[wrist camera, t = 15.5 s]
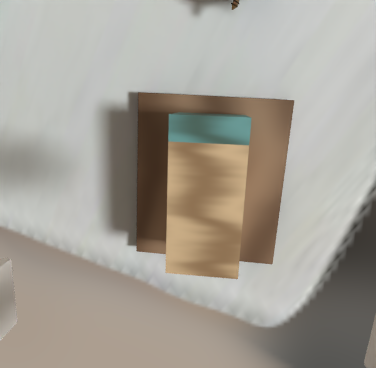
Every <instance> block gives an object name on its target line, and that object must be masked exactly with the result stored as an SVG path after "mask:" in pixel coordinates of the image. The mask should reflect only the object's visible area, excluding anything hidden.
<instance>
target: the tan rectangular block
mask: <svg viewBox="0 0 376 368" xmlns="http://www.w3.org/2000/svg"><path fill="white" fill-rule="evenodd" d="M250 130H251V117H249V116H246V115H234V114H208V113H183V112H178V113H173V114H169V133H168V183H167V232H166V273H174V274H186V275H197V276H209V277H220V278H232V279H238V270H239V259H240V247H241V235H242V224H243V212H244V200H245V189H246V177H247V165H248V154H249V142H250Z"/></svg>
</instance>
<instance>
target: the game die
mask: <svg viewBox="0 0 376 368" xmlns="http://www.w3.org/2000/svg"><path fill="white" fill-rule="evenodd" d="M231 4H232V10H233V9H235V8H236V7H238V4H239V0H233V3H231Z"/></svg>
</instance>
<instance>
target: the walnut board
mask: <svg viewBox="0 0 376 368" xmlns="http://www.w3.org/2000/svg"><path fill="white" fill-rule="evenodd" d="M293 106H294V100H277V99H257V98H238V97H218V96H199V95H179V94H160V93H140V92H138V173H137V251H139V252H150V253H160V254H166V232H167V183H168V133H169V114H173V113H178V112H183V113H208V114H234V115H246V116H249V117H251V130H250V142H249V154H248V165H247V177H246V189H245V200H244V212H243V224H242V235H241V247H240V259H239V261H244V262H255V263H265V264H272V263H273V256H274V248H275V241H276V233H277V226H278V218H279V211H280V203H281V196H282V188H283V181H284V173H285V166H286V158H287V151H288V143H289V136H290V128H291V121H292V113H293Z"/></svg>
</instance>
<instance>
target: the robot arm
mask: <svg viewBox="0 0 376 368" xmlns="http://www.w3.org/2000/svg"><path fill="white" fill-rule="evenodd" d="M16 323H17V313H16V303H15V292H14V282H13V273H12V262H11V259H7V258H0V340H1V339H2V338H3V337H4V336H5V335H6V334H7V333H8V332H9V331H10V330H11V329H12V328H13V326H14V325H15V324H16ZM364 364H365V366H366V368H376V315H375V319H374V323H373V327H372V332H371V336H370V340H369V344H368V348H367V352H366V357H365V361H364Z"/></svg>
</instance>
